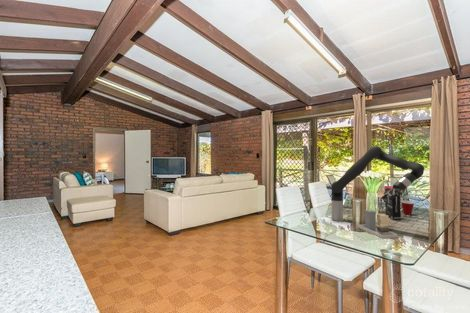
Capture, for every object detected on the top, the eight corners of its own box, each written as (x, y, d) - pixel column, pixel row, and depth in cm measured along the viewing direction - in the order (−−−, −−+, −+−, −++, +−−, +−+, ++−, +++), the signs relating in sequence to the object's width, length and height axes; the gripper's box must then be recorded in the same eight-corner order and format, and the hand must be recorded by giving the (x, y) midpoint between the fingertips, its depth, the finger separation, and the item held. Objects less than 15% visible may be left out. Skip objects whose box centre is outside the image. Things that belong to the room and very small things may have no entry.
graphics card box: (401, 220, 212) (401, 188, 212) (392, 220, 213) (391, 188, 213) (392, 215, 229) (392, 185, 228) (384, 215, 230) (384, 185, 230)
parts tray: (397, 238, 168) (397, 234, 168) (381, 240, 167) (381, 235, 167) (372, 227, 194) (372, 223, 194) (358, 228, 192) (358, 224, 192)
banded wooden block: (388, 235, 172) (388, 215, 171) (382, 236, 171) (381, 216, 171) (383, 233, 177) (383, 213, 176) (377, 234, 176) (376, 214, 176)
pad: (381, 241, 165) (381, 239, 165) (365, 242, 164) (365, 240, 164) (365, 233, 181) (365, 232, 181) (351, 234, 179) (351, 232, 179)
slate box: (375, 230, 185) (375, 211, 184) (369, 230, 184) (369, 211, 184) (371, 228, 190) (371, 209, 189) (365, 228, 189) (364, 210, 189)
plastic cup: (410, 216, 224) (410, 203, 224) (398, 214, 234) (398, 201, 234) (417, 214, 230) (417, 201, 230) (404, 212, 239) (404, 200, 239)
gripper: (392, 180, 189) (376, 194, 188) (405, 180, 175) (388, 195, 174) (398, 188, 189) (383, 202, 188) (412, 189, 175) (396, 204, 173)
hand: (385, 199), depth 181 cm, fingers open, 8 cm apart
